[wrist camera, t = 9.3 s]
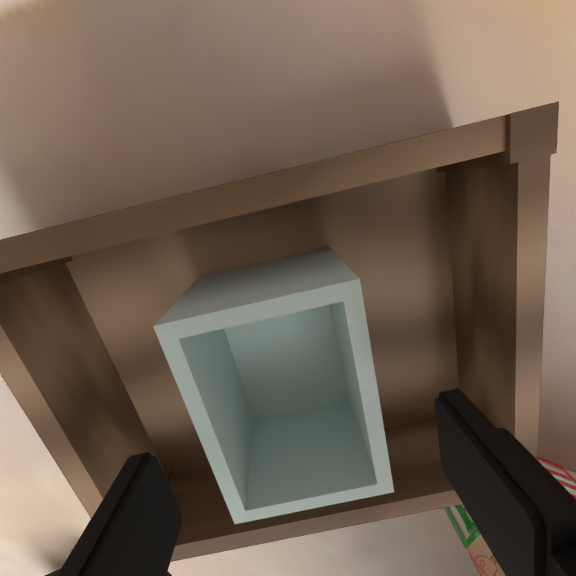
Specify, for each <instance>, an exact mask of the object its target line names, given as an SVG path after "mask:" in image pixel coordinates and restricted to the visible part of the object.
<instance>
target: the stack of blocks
mask: <svg viewBox="0 0 576 576" xmlns="http://www.w3.org/2000/svg"><path fill="white" fill-rule="evenodd" d="M537 460H538V461H539V462H540V463H541V464H542V465H543V466H544V467H545V468H546V469H547V470H548V471H549V472H550V473H551V474H552V475H553V476H554V477H555V478H556V479H557V480H558V481H559V482H560V483H561V484H562V485H563V487H564V488H565V489H566V490H567V491H568V492H569V493H570V494H571V495H572V496H573V497H574V498H575V499H576V473H574V472H572V471H569V470H566V469H564V468H563V467H561V466H559V465H556V464H554V463H551V462H548V461H546V460H543V459H541V458H538V457H537ZM444 508H445V510H446V512H447V514H448V516H449V518H450V520H451V522H452V524H453V526H454V528H455V530H456V532H457V534H458V536H459V538H460V540H461V542H462V544H463V546H464V547H465V548H466V550H468V552H469V554H470V557H471V559H472V561H473V563H474V565H475V567H476V569H477V571H478V573H479V574H480V576H505V574H504V572H503V571H502V569H501V567H500V566H499V564H498V562H497V561H496V559H495V557H494V556H493V554H492V552H491V550H490V549H489V547H488V545H487V544H486V542H485V540H484V539H483V537H482V535H481V534H480V532H479V530H478V529H477V527H476V525H475V524H474V522H473V520H472V519H471V517H470V515H469V514H468V512H467V510H466V508H465V507H464V505H463V504H459V505H454V506H449V507H444Z"/></svg>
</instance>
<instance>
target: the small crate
mask: <svg viewBox="0 0 576 576" xmlns="http://www.w3.org/2000/svg"><path fill="white" fill-rule="evenodd" d="M153 327H154V330H155V332H156V335H157V337H158V340H159V342H160V344H161V347H162V349H163V352H164V354H165V357H166V359H167V361H168V364H169V366H170V369H171V371H172V373H173V376H174V378H175V381H176V383H177V386H178V388H179V390H180V393H181V395H182V398H183V400H184V403H185V405H186V407H187V410H188V412H189V415H190V417H191V420H192V422H193V424H194V427H195V429H196V432H197V434H198V437H199V439H200V441H201V444H202V446H203V449H204V451H205V453H206V456H207V458H208V461H209V463H210V466H211V468H212V470H213V473H214V475H215V478H216V480H217V483H218V485H219V487H220V490H221V492H222V495H223V497H224V500H225V502H226V504H227V507H228V509H229V512H230V514H231V517H232V519H233V521H234V524H239V523H244V522H248V521H253V520H258V519H263V518H268V517H273V516H278V515H283V514H288V513H293V512H298V511H303V510H308V509H313V508H318V507H323V506H328V505H333V504H338V503H343V502H348V501H353V500H358V499H363V498H368V497H373V496H378V495H383V494H388V493H393V492H394V487H393V481H392V475H391V469H390V462H389V456H388V450H387V444H386V438H385V431H384V425H383V419H382V413H381V407H380V400H379V394H378V388H377V382H376V376H375V369H374V363H373V357H372V351H371V345H370V338H369V332H368V326H367V320H366V313H365V307H364V301H363V295H362V289H361V282H360V278H359V277H358V276H357V275H356V274H355V273H354V272H353V271H352V270H351V269H350V268H349V267H348V266H347V265H346V264H345V262H344V261H343V260H342V259H341V258H340V257H339V256H338V255H337V254H336V253H335V252H334V251H333V250H332V249H331V248H330V247H325V248H321V249H317V250H313V251H308V252H304V253H300V254H296V255H291V256H287V257H283V258H278V259H274V260H270V261H266V262H261V263H257V264H253V265H249V266H244V267H240V268H236V269H232V270H227V271H223V272H219V273H215V274H210V275H206V276H202V277H198V278H197V279H196V280H195V281H194V282H193V283H192V285H191V286H190V287H189V288H188V289H187V290H186V291H185V292H184V293H183V294H182V295H181V296H180V298H179V299H178V300H177V301H176V302H175V303H174V304H173V305H172V306H171V307H170V308H169V309H168V311H167V312H166V313H165V314H164V315H163V316H162V317H161V318H160V319H159V320H158V321H157V322H156V324H155V325H154V326H153Z"/></svg>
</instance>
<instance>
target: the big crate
mask: <svg viewBox="0 0 576 576" xmlns="http://www.w3.org/2000/svg"><path fill="white" fill-rule="evenodd" d="M558 109H559V102H555V103H551V104H547V105H543V106H539V107H535V108H531V109H527V110H523V111H519V112H515V113H511V114H508V115H504V116H500V117H496V118H492V119H488V120H484V121H480V122H476V123H472V124H468V125H464V126H460V127H456V128H451V129H447V130H443V131H439V132H435V133H431V134H427V135H423V136H419V137H415V138H411V139H407V140H403V141H399V142H395V143H391V144H387V145H383V146H378V147H374V148H370V149H366V150H362V151H358V152H354V153H350V154H346V155H342V156H338V157H334V158H330V159H326V160H322V161H318V162H314V163H309V164H305V165H301V166H297V167H293V168H289V169H285V170H281V171H277V172H273V173H269V174H265V175H261V176H257V177H253V178H249V179H245V180H241V181H236V182H232V183H228V184H224V185H220V186H216V187H212V188H208V189H204V190H200V191H196V192H192V193H188V194H184V195H180V196H176V197H172V198H168V199H163V200H159V201H155V202H151V203H147V204H143V205H139V206H135V207H131V208H127V209H123V210H119V211H115V212H111V213H107V214H103V215H99V216H95V217H90V218H86V219H82V220H78V221H74V222H70V223H66V224H62V225H58V226H54V227H50V228H46V229H42V230H38V231H34V232H30V233H26V234H22V235H17V236H13V237H9V238H5V239H1V240H0V374H1V376H2V377H3V379H4V380H5V382H6V384H7V385H8V387H9V388H10V390H11V392H12V393H13V395H14V396H15V398H16V400H17V401H18V403H19V404H20V406H21V408H22V409H23V411H24V412H25V414H26V416H27V417H28V419H29V420H30V422H31V424H32V425H33V427H34V428H35V430H36V432H37V433H38V435H39V436H40V438H41V439H42V441H43V443H44V444H45V446H46V447H47V449H48V451H49V452H50V454H51V455H52V457H53V459H54V460H55V462H56V463H57V465H58V467H59V468H60V470H61V471H62V473H63V475H64V476H65V478H66V479H67V481H68V483H69V484H70V486H71V487H72V489H73V491H74V492H75V494H76V495H77V497H78V499H79V500H80V502H81V503H82V505H83V506H84V508H85V510H86V511H87V513H88V514H89V516H90V518H91V519H92V517H93V515H94V514H95V512H96V510H97V509H98V507H99V505H100V504H101V502H102V500H103V499H104V497H105V495H106V494H107V492H108V490H109V489H110V487H111V485H112V484H113V482H114V480H115V479H116V477H117V475H118V474H119V472H120V470H121V469H122V467H123V465H124V464H125V462H126V460H127V459H128V458H129V457H130V456H131V455H136V454H141V453H146V452H149V453H151V455H152V456H155V457H156V458H157V460H158V462H159V464H160V467H161V469H162V471H163V473H164V475H165V478H166V480H167V482H168V484H169V487H170V489H171V491H172V493H173V495H174V498H175V500H176V502H177V504H178V507H179V509H180V511H181V514H182V525H181V529H180V532H179V535H178V538H177V542H176V545H175V548H174V551H173V555H172V558H171V561H170V562H172V561H177V560H182V559H187V558H192V557H197V556H202V555H207V554H212V553H217V552H222V551H227V550H232V549H237V548H243V547H248V546H253V545H258V544H263V543H268V542H273V541H278V540H283V539H288V538H293V537H298V536H303V535H308V534H313V533H318V532H323V531H328V530H333V529H338V528H343V527H348V526H353V525H358V524H364V523H369V522H374V521H379V520H384V519H389V518H394V517H399V516H404V515H409V514H414V513H419V512H424V511H429V510H434V509H439V508H444V507H449V506H454V505H459V504H463V503H462V502H461V500H460V498H459V497H458V495H457V493H456V492H455V490H454V488H453V487H452V485H451V483H450V482H449V480H448V478H447V477H446V475H445V473H444V470H443V468H442V465H441V458H440V449H439V440H438V431H437V421H436V412H435V403H434V399H435V398H437V397H439V392H442V391H447V390H452V389H457V388H458V389H460V390H461V391H462V392H463V393H464V394H465V395H466V396H467V397H468V398H469V399H470V400H471V402H472V403H473V404H474V405H475V406H476V407H477V408H478V409H479V410H480V411H481V412H482V413H483V414H484V415H485V416H486V417H487V418H488V420H489V421H490V422H491V423H492V424H493V425H494V426H495V427H496V428H504V429H506V430H508V431H509V432H510V433H511V434H512V435H513V436H514V437H515V438H516V439H517V440H518V441H519V442H520V443H521V444H522V445H523V446H524V447H525V448H526V449H527V450H528V451H529V452H530V453H531V454H532V455H533V456H534V457H535V458H536V459H537V452H538V429H539V406H540V384H541V361H542V338H543V315H544V293H545V270H546V247H547V224H548V201H549V179H550V156H551V154H554V153H556V150H557V129H558ZM325 247H330V248H331V249H332V250H333V251H334V252H335V253H336V254H337V255H338V256H339V257H340V258H341V259H342V260H343V261H344V262H345V264H346V265H347V266H348V267H349V268H350V269H351V270H352V271H353V272H354V273H355V274H356V275H357V276H358V277H359V278H360V282H361V289H362V295H363V301H364V307H365V313H366V320H367V326H368V332H369V338H370V345H371V351H372V357H373V363H374V369H375V376H376V382H377V388H378V394H379V400H380V407H381V413H382V419H383V425H384V431H385V438H386V444H387V450H388V456H389V462H390V469H391V475H392V481H393V487H394V492H393V493H388V494H383V495H378V496H373V497H368V498H363V499H358V500H353V501H348V502H343V503H338V504H333V505H328V506H323V507H318V508H313V509H308V510H303V511H298V512H293V513H288V514H283V515H278V516H273V517H268V518H263V519H258V520H253V521H248V522H244V523H239V524H234V521H233V519H232V517H231V514H230V512H229V509H228V507H227V504H226V502H225V500H224V497H223V495H222V492H221V490H220V487H219V485H218V483H217V480H216V478H215V475H214V473H213V470H212V468H211V466H210V463H209V461H208V458H207V456H206V453H205V451H204V449H203V446H202V444H201V441H200V439H199V437H198V434H197V432H196V429H195V427H194V424H193V422H192V420H191V417H190V415H189V412H188V410H187V407H186V405H185V403H184V400H183V398H182V395H181V393H180V390H179V388H178V386H177V383H176V381H175V378H174V376H173V373H172V371H171V369H170V366H169V364H168V361H167V359H166V357H165V354H164V352H163V349H162V347H161V344H160V342H159V340H158V337H157V335H156V332H155V330H154V327H153V326H154V325H155V324H156V322H157V321H158V320H159V319H160V318H161V317H162V316H163V315H164V314H165V313H166V312H167V311H168V309H169V308H170V307H171V306H172V305H173V304H174V303H175V302H176V301H177V300H178V299H179V298H180V296H181V295H182V294H183V293H184V292H185V291H186V290H187V289H188V288H189V287H190V286H191V285H192V283H193V282H194V281H195V280H196V279H197V278H198V277H202V276H206V275H210V274H215V273H219V272H223V271H227V270H232V269H236V268H240V267H244V266H249V265H253V264H257V263H261V262H266V261H270V260H274V259H278V258H283V257H287V256H291V255H296V254H300V253H304V252H308V251H313V250H317V249H321V248H325Z"/></svg>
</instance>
